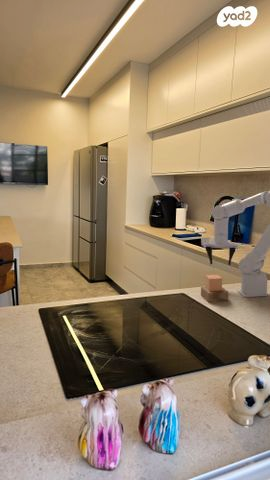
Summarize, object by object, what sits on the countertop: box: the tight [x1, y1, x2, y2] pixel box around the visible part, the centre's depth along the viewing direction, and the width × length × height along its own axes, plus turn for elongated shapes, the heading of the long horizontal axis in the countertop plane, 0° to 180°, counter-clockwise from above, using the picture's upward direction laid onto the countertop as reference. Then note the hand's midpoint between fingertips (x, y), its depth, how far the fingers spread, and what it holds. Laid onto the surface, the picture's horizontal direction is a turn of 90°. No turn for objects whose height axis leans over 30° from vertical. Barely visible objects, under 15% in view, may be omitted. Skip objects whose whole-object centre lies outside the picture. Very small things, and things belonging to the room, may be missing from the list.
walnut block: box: [200, 285, 229, 303], centre depth 130 cm, size 8×8×4 cm
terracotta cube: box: [205, 274, 223, 291], centre depth 130 cm, size 5×5×5 cm
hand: (220, 264), depth 143 cm, fingers open, 7 cm apart
